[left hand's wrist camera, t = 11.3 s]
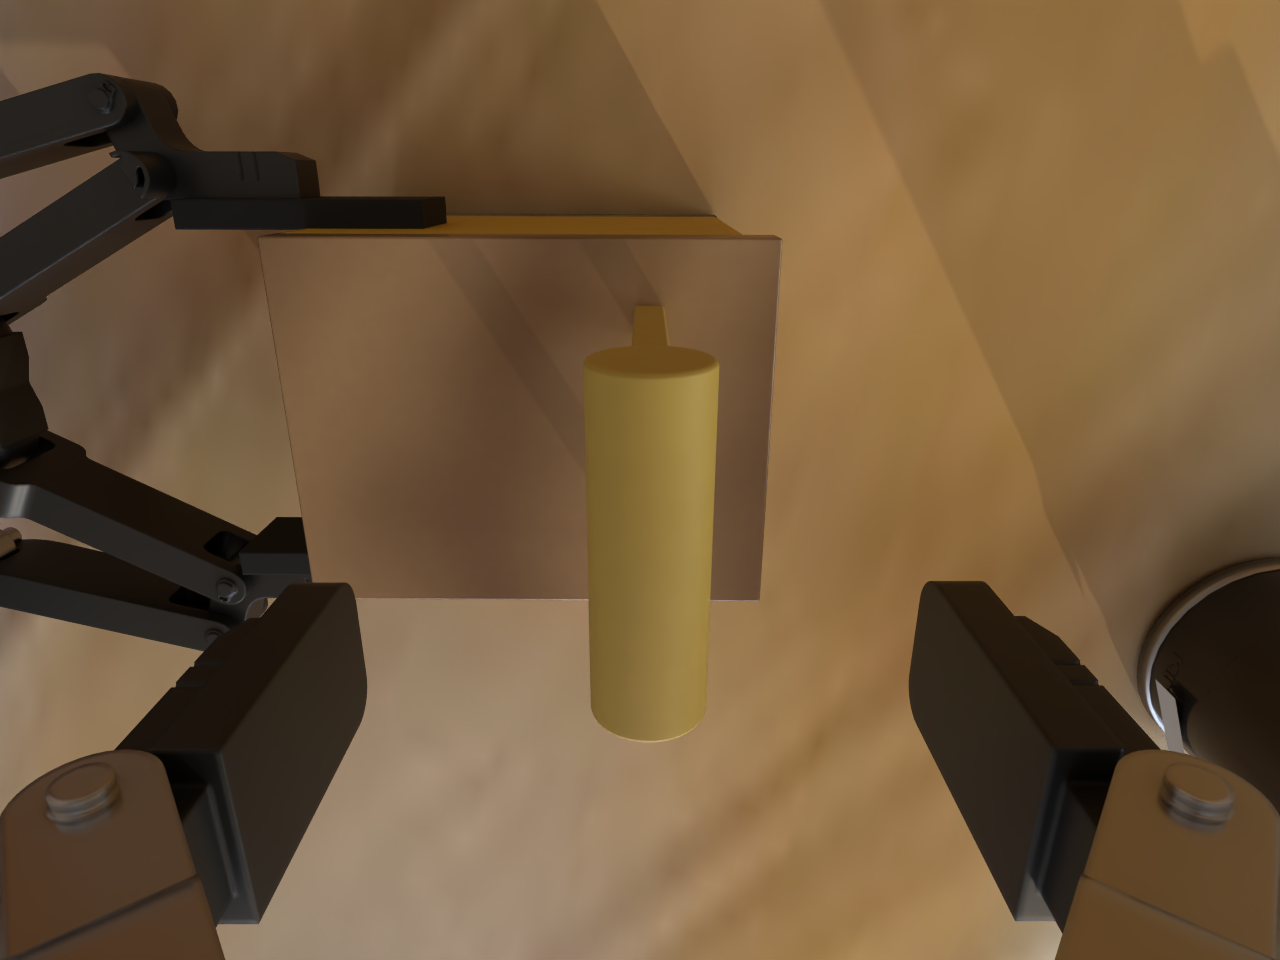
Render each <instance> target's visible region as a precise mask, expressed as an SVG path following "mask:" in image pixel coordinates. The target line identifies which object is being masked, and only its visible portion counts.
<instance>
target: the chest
mask: <svg viewBox="0 0 1280 960" xmlns="http://www.w3.org/2000/svg"><path fill="white" fill-rule="evenodd" d="M446 217H447V223H445V224H441V225H437V226H433V227H429V228H425V229H302V230H296V231H290V232H283V233H342V234H614V235H742V234H741V233H739V232H738V231H736V230H734V229H733V228H731V227H730V226H728V225H727V224H725V223H723V222H722V221H720V220H719V219H717V217H716V216H715V215H531V214H446Z"/></svg>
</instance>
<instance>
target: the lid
mask: <svg viewBox="0 0 1280 960" xmlns="http://www.w3.org/2000/svg"><path fill="white" fill-rule="evenodd" d="M258 245H259V251H260V257H261V264H262V270H263V276H264V282H265V289H266V295H267V301H268V307H269V314H270V320H271V326H272V332H273V339H274V345H275V351H276V357H277V364H278V370H279V376H280V382H281V389H282V395H283V401H284V407H285V414H286V420H287V426H288V432H289V439H290V445H291V451H292V457H293V464H294V470H295V476H296V483H297V489H298V495H299V501H300V508H301V514H302V520H303V526H304V533H305V539H306V545H307V551H308V558H309V564H310V570H311V576H312V582H346V583H348V584H349V585H350V586H351V587H352V589H353V592H354V595H355V599H470V600H589V640H590V685H591V709H592V712H593V715H594V717H595V719H596V720H597V721H598V723H599V724H600V725H601V726H602V727H603V728H604V729H606V730H607V731H608V732H610V733H612V734H614V735H616V736H618V737H621V738H624V739H627V740H631V741H638V742H661V741H667V740H671V739H675V738H678V737H680V736H682V735H685V734H686V733H688V732H690V731H691V730H692V729H694V728H695V727H696V726H697V725H698V724H699V722H700V721H701V719H702V718H703V716H704V713H705V710H706V696H707V670H708V644H709V619H710V601H759V599H760V585H761V570H762V554H763V538H764V523H765V507H766V491H767V476H768V460H769V444H770V428H771V413H772V397H773V381H774V366H775V350H776V334H777V319H778V303H779V287H780V271H781V256H782V239H781V238H779V237H777V236H775V235H614V234H342V233H276V234H270V235H264V236H259V237H258Z"/></svg>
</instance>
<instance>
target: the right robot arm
mask: <svg viewBox="0 0 1280 960" xmlns="http://www.w3.org/2000/svg"><path fill="white" fill-rule="evenodd" d="M177 114H178V108H177V104H176V100H175V99H174V97H173V96H172V94H171V93H170V92H169V91H168V90H167V89H166V88H165V87H163V86H161V85H158V84H155V83H150V82H145V81H139V80H134V79H128V78H123V77H117V76H112V75H106V74H101V73H94V74H88V75H84V76H81V77H78V78H75V79H71V80H68V81H65V82H62V83H58V84H55V85H52V86H49V87H45V88H42V89H39V90H35V91H32V92H29V93H26V94H22V95H19V96H16V97H13V98H9V99H6V100H3V101H0V179H1V178H5V177H8V176H11V175H15V174H18V173H22V172H25V171H28V170H32V169H35V168H38V167H42V166H45V165H49V164H52V163H55V162H59V161H62V160H65V159H69V158H72V157H76V156H79V155H82V154H86V153H89V152H92V151H96V150H99V149H103V148H106V147H109V146H114V147H115V149H116V151H114V152H111V153H109V154H110V156H111V157H113V158H120V159H119V160H117V161H116V162H114V163H113V164H111V165H110V166H108V167H107V168H105V169H104V170H102V171H100V172H99V173H97V174H96V175H94V176H93V177H91V178H90V179H88V180H87V181H85V182H84V183H82V184H81V185H79V186H78V187H76V188H75V189H73V190H72V191H70V192H69V193H67V194H66V195H64V196H63V197H61V198H60V199H58V200H57V201H55V202H53V203H52V204H50V205H49V206H47V207H46V208H44V209H43V210H41V211H40V212H38V213H37V214H35V215H34V216H32V217H31V218H29V219H28V220H26V221H25V222H23V223H22V224H20V225H19V226H17V227H16V228H14V229H13V230H11V231H10V232H8V233H6V234H5V235H3V236H2V237H0V517H2V518H16V517H22V518H27V519H30V520H32V521H34V522H37V523H39V524H41V525H44V526H46V527H48V528H50V529H53V530H55V531H57V532H60V533H62V534H64V535H66V536H69V537H71V538H73V539H76V540H78V541H80V542H82V543H85V544H87V545H89V546H92V547H94V548H96V549H98V550H101V551H103V552H101V551H96V550H92V549H88V548H83V547H79V546H74V545H70V544H66V543H61V542H55V541H49V540H38V539H26V540H22V535H21V533H20V532H19V531H18V530H17V529H15V528H12V527H8V528H6V529H4V530H0V607H5V608H9V609H14V610H18V611H23V612H27V613H32V614H36V615H41V616H46V617H50V618H55V619H59V620H64V621H68V622H73V623H77V624H82V625H87V626H91V627H96V628H100V629H105V630H109V631H114V632H118V633H123V634H128V635H132V636H137V637H141V638H146V639H150V640H155V641H159V642H164V643H169V644H173V645H178V646H182V647H187V648H191V649H196V650H200V651H205V650H206V649H207V648H208V647H209V646H210V644H211V643H212V642H213V641H214V640H215V639H216V638H217V637H219V636H221V635H222V634H224V633H226V632H227V631H229V630H231V629H232V628H234V627H236V626H237V625H239V624H240V623H242V622H244V621H245V620H247V619H249V618H259V617H260V616H261V615H262V614H263V613H264V612H265V611H266V609H267V606H268V600H267V598H278V596H279V595H280V594H281V593H282V592H283V591H284V589H285V588H286V587H287V586H288V585H289V584H291V583H295V582H312V576H311V570H310V564H309V558H308V551H307V545H306V539H305V533H304V526H303V520H302V517H276V518H275V519H274V520H273V521H272V522H271V523H270V524H269V525H268V526H267V527H266V528H265V529H263V530H262V531H261V532H260V533H259V534H258V535H255V534H253V533H251V532H249V531H246V530H244V529H242V528H240V527H238V526H235V525H233V524H231V523H229V522H227V521H224V520H222V519H220V518H218V517H216V516H213V515H211V514H209V513H207V512H205V511H202V510H200V509H198V508H196V507H194V506H191V505H189V504H187V503H185V502H183V501H180V500H178V499H176V498H174V497H172V496H169V495H167V494H165V493H163V492H161V491H158V490H156V489H154V488H152V487H150V486H147V485H145V484H143V483H141V482H139V481H136V480H134V479H132V478H130V477H128V476H125V475H123V474H121V473H119V472H117V471H114V470H112V469H110V468H108V467H106V466H104V465H101V464H99V463H97V462H95V461H93V460H91V459H89V458H87V456H86V450H85V449H84V448H83V447H82V446H80V445H78V444H76V443H74V442H72V441H70V440H67V439H65V438H63V437H61V436H59V435H56V434H54V433H52V432H50V431H48V425H47V422H46V418H45V414H44V411H43V407H42V405H41V403H40V401H39V399H38V397H37V396H36V394H35V392H34V390H33V388H32V386H31V385H30V382H29V356H28V352H27V348H26V344H25V341H24V337H23V333H22V332H12V330H11V328H10V327H9V324H11V323H12V322H14V321H15V320H17V319H19V318H20V317H22V316H23V315H25V314H26V313H28V312H30V311H31V310H33V309H34V308H36V307H38V306H39V305H41V304H42V303H44V302H45V301H46V300H47V298H46V296H48V295H49V294H50V293H52V292H54V291H55V290H57V289H58V288H60V287H61V286H63V285H65V284H66V283H68V282H69V281H71V280H73V279H74V278H76V277H77V276H79V275H80V274H82V273H84V272H85V271H87V270H88V269H90V268H91V267H93V266H95V265H96V264H98V263H99V262H101V261H102V260H104V259H106V258H107V257H109V256H110V255H112V254H114V253H115V252H117V251H118V250H120V249H121V248H123V247H125V246H126V245H128V244H129V243H131V242H132V241H134V240H136V239H137V238H139V237H140V236H142V235H143V234H145V233H147V232H148V231H150V230H151V229H153V228H155V227H156V226H158V225H159V224H161V223H162V222H164V221H166V220H167V219H169V218H170V217H172V216H173V218H174V223H175V228H176V229H232V230H302V229H425V228H429V227H433V226H437V225H441V224H445V223H447V217H446V205H445V197H320V189H319V182H318V174H317V167H316V161H315V160H313V159H310V158H308V157H305V156H303V155H301V154H298V153H289V152H206V151H203V150H200V149H198V148H197V147H196V146H194V145H193V144H192V143H191V142H190V141H189V140H188V139H187V138H186V136H185V135H184V133H183V132H182V130H181V128H180V126H179V124H178V122H177Z"/></svg>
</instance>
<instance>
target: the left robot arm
mask: <svg viewBox="0 0 1280 960" xmlns="http://www.w3.org/2000/svg"><path fill="white" fill-rule="evenodd" d="M1137 683H1138V690H1139V694H1140V697H1141V700H1142V703H1143V705H1144V707H1145V709H1146V710H1147V712H1148V713H1149V715H1150V716H1151V718H1152V719H1153V720H1154V721H1155V722H1156V723H1157V724H1158V725H1159V726H1160V728H1161V729H1162V730H1163V731H1164V732H1165V736H1166V741H1167V747H1168V749H1169V750H1170V751H1167V750H1161V749H1160V748H1159V747H1158V746H1157V745H1156V744H1155V743H1154V742H1153V741H1152V739H1151V738H1150V737H1149V736H1148V735H1147V734H1146V733H1145V732H1144V731H1143V730H1142V728H1141V727H1140V726H1139V725H1138V724H1137V723H1136V722H1135V721H1134V720H1133V718H1132V717H1131V716H1130V715H1129V714H1128V713H1127V712H1126V711H1125V710H1124V708H1123V707H1122V706H1121V705H1120V704H1119V703H1118V702H1117V701H1116V700H1115V699H1114V697H1113V696H1112V695H1111V694H1110V693H1109V692H1108V691H1107V690H1106V689H1105V687H1104V686H1099V685H1098V680H1097V679H1096V678H1095V676H1094V675H1093V674H1092V673H1091V672H1090V671H1089V670H1088V669H1087V668H1086V666H1085V665H1080V660H1079V659H1078V658H1077V656H1076V655H1075V654H1074V653H1073V652H1072V651H1071V650H1070V649H1069V648H1068V647H1067V645H1066V644H1065V643H1064V642H1063V641H1062V640H1061V639H1060V638H1059V637H1058V636H1057V635H1055V634H1053V633H1052V632H1050V631H1048V630H1047V629H1045V628H1044V627H1042V626H1040V625H1039V624H1037V623H1035V622H1034V621H1032V620H1030V619H1029V618H1027V617H1025V616H1014V615H1013V614H1012V613H1011V611H1010V610H1009V609H1008V608H1007V607H1006V606H1005V604H1004V603H1003V602H1002V601H1001V600H1000V598H999V597H998V596H997V595H996V594H995V593H994V591H993V590H992V589H991V588H990V587H989V586H988V585H987V584H986V583H985V582H983V581H929V582H927V583H926V584H925V585H924V587H923V589H922V593H921V597H920V603H919V610H918V617H917V624H916V631H915V638H914V645H913V652H912V659H911V667H910V674H909V698H910V704H911V710H912V713H913V717H914V720H915V722H916V724H917V726H918V728H919V730H920V732H921V734H922V736H923V738H924V740H925V742H926V744H927V746H928V748H929V750H930V752H931V754H932V756H933V758H934V760H935V762H936V764H937V766H938V768H939V770H940V772H941V774H942V776H943V778H944V780H945V782H946V784H947V786H948V788H949V790H950V792H951V794H952V796H953V798H954V800H955V802H956V804H957V806H958V808H959V810H960V812H961V814H962V816H963V818H964V820H965V822H966V824H967V826H968V828H969V830H970V832H971V834H972V836H973V838H974V840H975V842H976V844H977V846H978V848H979V850H980V852H981V854H982V856H983V858H984V860H985V862H986V864H987V866H988V868H989V870H990V872H991V874H992V876H993V878H994V880H995V882H996V884H997V886H998V888H999V890H1000V892H1001V894H1002V896H1003V898H1004V900H1005V902H1006V904H1007V905H1008V907H1009V909H1010V911H1011V913H1012V915H1013V917H1014V919H1015V921H1056V923H1057V925H1058V926H1059V928H1060V930H1061V932H1062V934H1063V935H1062V938H1061V941H1060V944H1059V948H1058V951H1057V954H1056V957H1055V960H1280V558H1266V559H1259V560H1254V561H1249V562H1245V563H1241V564H1238V565H1235V566H1232V567H1229V568H1227V569H1224V570H1221V571H1219V572H1217V573H1215V574H1213V575H1211V576H1209V577H1207V578H1205V579H1204V580H1202V581H1200V582H1199V583H1197V584H1196V585H1194V586H1193V587H1191V588H1190V589H1188V590H1187V591H1186V592H1185V593H1183V594H1182V595H1181V596H1180V597H1178V598H1177V599H1176V600H1175V601H1174V602H1173V603H1172V604H1171V605H1170V606H1169V607H1168V608H1167V609H1166V610H1165V611H1164V613H1163V614H1162V615H1161V616H1160V618H1159V619H1158V620H1157V621H1156V623H1155V624H1154V626H1153V628H1152V629H1151V631H1150V633H1149V634H1148V636H1147V638H1146V640H1145V643H1144V645H1143V648H1142V651H1141V654H1140V657H1139V662H1138V669H1137ZM366 698H367V676H366V669H365V662H364V655H363V648H362V641H361V634H360V627H359V620H358V613H357V606H356V600H355V595H354V592H353V589H352V587H351V586H350V585H349V584H348V583H346V582H295V583H291V584H289V585H288V586H287V587H286V588H285V589H284V591H283V592H282V593H281V594H280V595H279V596H278V598H277V599H276V600H275V601H274V602H273V603H272V605H271V606H270V607H269V608H268V609H267V610H266V612H265V613H264V614H263V615H262V616H261V617H260V618H249V619H247V620H245V621H244V622H242V623H240V624H239V625H237V626H236V627H234V628H232V629H231V630H229V631H227V632H226V633H224V634H222V635H221V636H219V637H217V638H216V639H215V640H214V641H213V642H212V643H211V644H210V646H209V647H208V648H207V649H206V650H205V651H204V652H203V653H202V654H201V655H200V657H199V658H198V659H197V660H196V661H195V662H194V667H189V669H188V670H187V671H186V672H185V673H184V674H183V675H182V676H181V677H180V678H179V680H178V681H177V682H176V687H171V688H170V689H169V691H168V692H167V693H166V694H165V695H164V696H163V697H162V698H161V699H160V700H159V701H158V703H157V704H156V705H155V706H154V707H153V708H152V709H151V710H150V711H149V712H148V714H147V715H146V716H145V717H144V718H143V719H142V720H141V721H140V722H139V723H138V725H137V726H136V727H135V728H134V729H133V730H132V731H131V732H130V733H129V734H128V735H127V737H126V738H125V739H124V740H123V741H122V742H121V743H120V744H119V745H118V746H117V748H116V749H115V750H113V751H105V752H101V753H96V754H92V755H89V756H85V757H82V758H79V759H76V760H74V761H71V762H68V763H66V764H64V765H62V766H59V767H57V768H55V769H53V770H51V771H49V772H48V773H46V774H44V775H42V776H41V777H39V778H37V779H36V780H35V781H33V782H32V783H30V784H29V785H27V786H26V787H25V788H24V789H23V790H21V791H20V792H19V793H18V794H17V795H16V796H15V797H14V798H13V799H12V800H11V801H10V802H9V803H8V805H7V806H6V807H5V809H4V810H3V812H2V814H1V816H0V960H225V958H224V954H223V951H222V948H221V944H220V941H219V938H218V935H217V931H216V927H217V925H218V924H259V922H260V920H261V918H262V916H263V914H264V912H265V910H266V908H267V906H268V904H269V903H270V901H271V899H272V897H273V895H274V893H275V891H276V889H277V887H278V885H279V883H280V881H281V879H282V877H283V875H284V873H285V871H286V869H287V867H288V865H289V863H290V861H291V859H292V857H293V855H294V853H295V851H296V849H297V847H298V845H299V843H300V842H301V840H302V838H303V836H304V834H305V832H306V830H307V828H308V826H309V824H310V822H311V820H312V818H313V816H314V814H315V812H316V810H317V808H318V806H319V804H320V802H321V800H322V798H323V796H324V794H325V792H326V790H327V788H328V786H329V784H330V782H331V781H332V779H333V777H334V775H335V773H336V771H337V769H338V767H339V765H340V763H341V761H342V759H343V757H344V755H345V753H346V751H347V749H348V747H349V745H350V743H351V741H352V739H353V737H354V735H355V733H356V731H357V729H358V727H359V725H360V723H361V721H362V718H363V714H364V710H365V705H366ZM1184 750H1185V751H1186V752H1187V753H1188V754H1189V755H1188V754H1184Z"/></svg>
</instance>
